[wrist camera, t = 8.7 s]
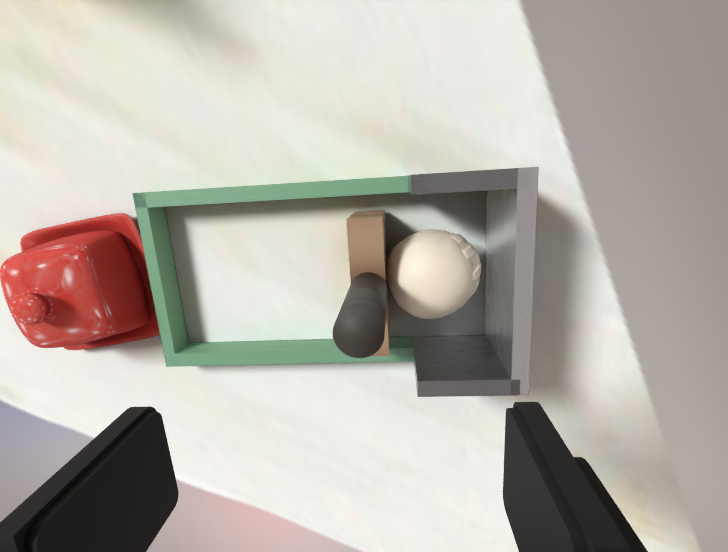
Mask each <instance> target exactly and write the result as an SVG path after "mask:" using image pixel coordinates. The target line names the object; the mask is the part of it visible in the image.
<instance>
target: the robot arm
mask: <svg viewBox="0 0 728 552" xmlns="http://www.w3.org/2000/svg"><path fill="white" fill-rule="evenodd" d="M177 500H178V488H177V483H176V479H175V474H174V470H173V465H172V461H171V456H170V452H169V447H168V443H167V438H166V434H165V429H164V425H163V420H162V416H161V414H160V413H158V412H156V410H155V408H153V407H130V408H129V409H127V410H126V411H125V412H124V413H122V414H121V415H120V416H119V417H118V418H117V419H116V420H115V421H114V422H112V423H111V424H110V425H109V426H108V427H107V428H106V429H105V430H103V431H102V432H101V433H100V434H99V435H98V436H97V437H96V438H94V439H93V440H92V441H91V442H90V443H89V444H88V445H87V446H85V447H84V448H83V449H82V450H81V451H80V452H79V453H78V454H77V455H76V456H74V457H73V458H72V459H71V460H70V461H69V462H68V463H67V464H65V465H64V466H63V467H62V468H61V469H60V470H59V471H57V472H56V473H55V474H54V475H53V476H52V477H51V478H50V479H49V480H47V481H46V482H45V483H44V484H43V485H42V486H41V487H40V488H38V489H37V490H36V491H35V492H34V493H33V494H32V495H31V496H29V498H27V499H26V500H25V501H24V502H23V503H22V504H20V505H19V506H18V507H17V508H16V509H15V510H14V511H13V512H12V513H11V514H9V515H8V516H7V517H6V518H5V519H4V520H3V521H2V522H0V552H146V551H147V549H148V547H149V546H150V545H151V543H152V541H153V540H154V538H155V537H156V535H157V534H158V532H159V531H160V529H161V528H162V526H163V524H164V523H165V521H166V520H167V518H168V517H169V515H170V514H171V512H172V511H173V509H174V508H175V506H176V503H177ZM503 500H504V506H505V510H506V513H507V516H508V519H509V522H510V525H511V528H512V531H513V534H514V538H515V541H516V544H517V547H518V550H519V552H648V551H647V550H646V548H645V547H644V545H643V544H642V542H641V541H640V539H639V538H638V536H637V535H636V533H635V532H634V530H633V529H632V527H631V526H630V524H629V523H628V521H627V520H626V519H625V517H624V516H623V514H622V513H621V511H620V510H619V508H618V507H617V505H616V504H615V502H614V501H613V499H612V498H611V496H610V495H609V493H608V492H607V490H606V489H605V487H604V486H603V484H602V483H601V481H600V480H599V478H598V477H597V475H596V474H595V472H594V471H593V469H592V468H591V466H590V465H589V463H588V462H587V461H586V460H585V459H583V458H582V457H573V456H572V454H571V453H570V451H569V449H568V448H567V446H566V445H565V443H564V441H563V440H562V438H561V437H560V435H559V434H558V432H557V430H556V429H555V427H554V426H553V424H552V422H551V421H550V419H549V418H548V416H547V415H546V413H545V411H544V410H543V408H542V407H541V405H540V404H539V403H538V402H515V403H514V405H513V408H507V410H506V425H505V453H504V481H503Z"/></svg>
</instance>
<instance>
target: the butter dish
mask: <svg viewBox="0 0 728 552" xmlns="http://www.w3.org/2000/svg"><path fill="white" fill-rule="evenodd" d="M21 250H22V252H21V253H18V254H16V255H14V256H12V257H10V258H9V259H7V260H6V261H5V262H4V263H3V264H2V266H1V269H0V279H1V285H2V289H3V292H4V296H5V299H6V302H7V304H8V307H9V309H10V312H11V313H12V316H13V318H14V320H15V322H16V324H17V326H18V327H19V329H20V330H21V332H22V334H23V335H24V336H25V337H26V338H27V340H28V341H29V342H31V343H32V344H33V345H35V346H38V347H42V348H57V347H64V348H65V349H67V350H81V349H90V348H96V347H102V346H109V345H114V344H120V343H125V342H130V341H137V340H141V339H146V338H151V337H154V336H157V335H160V331H159V326H158V321H157V316H156V311H155V305H154V300H153V295H152V290H151V285H150V280H149V275H148V270H147V265H146V259H145V254H144V249H143V244H142V239H141V235H140V233H139V231H138V228H137V226H136V224H135V222H134V221H133V219H132V218H131V217H130V216H129V215H127V214H124V213H117V214H111V215H104V216H99V217H95V218H90V219H85V220H80V221H75V222H71V223H66V224H62V225H57V226H53V227H48V228H43V229H39V230H35V231H32V232H30V233H28V234H26V235H25V236H23V237H22V239H21Z"/></svg>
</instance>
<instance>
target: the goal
mask: <svg viewBox="0 0 728 552" xmlns="http://www.w3.org/2000/svg"><path fill="white" fill-rule="evenodd" d="M538 170H539V167H529V168H514V169H498V170H482V171H466V172H450V173H434V174H418V175H409V176H408V192H409V193H410V194H411V195H417V194H434V193H451V192H469V191H486V190H487V215H486V290H485V335H460V336H423V337H412V340H413V351H414V367H415V376H416V385H417V394H418V397H435V396H506V395H529V378H530V355H531V332H532V309H533V285H534V262H535V239H536V216H537V193H538Z"/></svg>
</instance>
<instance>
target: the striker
mask: <svg viewBox="0 0 728 552" xmlns="http://www.w3.org/2000/svg"><path fill="white" fill-rule="evenodd" d="M347 233H348V247H349V261H350V276H351V286H350V288H349V290H348V293H347V295H346V298H345V300H344V303H343V305H342V307H341V310H340V312H339V315H338V317H337V319H336V322H335V324H334V327H333V339H334V342H335V344H336V346H337V347H338V348H339V350H340V351H341V352H343V353H344V354H346V355H348V356H350V357H353V358H366V357H369V356H389V341H390V315H389V294H388V284H387V276H386V266H387V252H386V231H385V210H379V211H361V212H355V213H354V214H352V215H351V216H350V217H349V218H347Z"/></svg>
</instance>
